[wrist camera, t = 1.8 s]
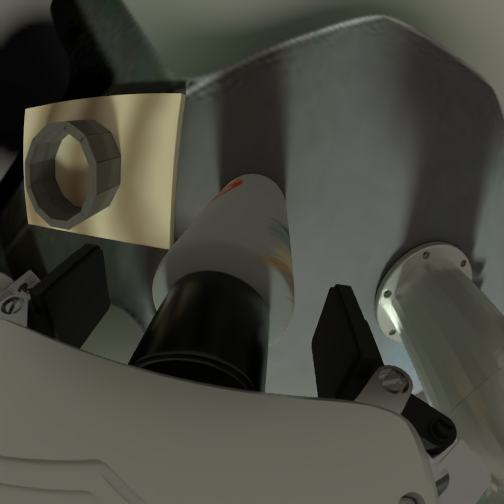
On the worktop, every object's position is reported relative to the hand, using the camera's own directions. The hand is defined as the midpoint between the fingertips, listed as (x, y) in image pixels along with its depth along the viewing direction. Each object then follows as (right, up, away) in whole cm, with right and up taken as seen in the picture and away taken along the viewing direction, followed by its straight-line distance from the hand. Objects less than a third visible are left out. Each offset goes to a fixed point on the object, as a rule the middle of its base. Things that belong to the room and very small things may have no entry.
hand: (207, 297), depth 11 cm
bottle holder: (-15, +10, +13) cm, 22 cm away
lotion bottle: (+2, +6, +14) cm, 15 cm away
